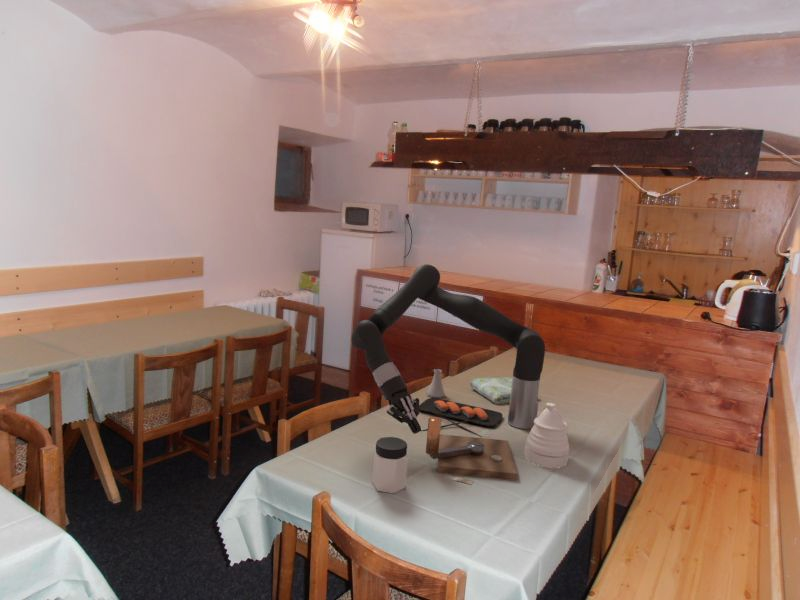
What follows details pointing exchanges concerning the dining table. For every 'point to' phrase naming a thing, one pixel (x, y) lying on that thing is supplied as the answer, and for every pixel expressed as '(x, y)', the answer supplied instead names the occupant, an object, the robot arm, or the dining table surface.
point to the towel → (494, 388)
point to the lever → (436, 453)
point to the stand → (478, 459)
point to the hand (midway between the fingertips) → (417, 432)
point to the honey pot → (548, 440)
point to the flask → (436, 385)
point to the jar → (390, 464)
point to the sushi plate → (460, 413)
